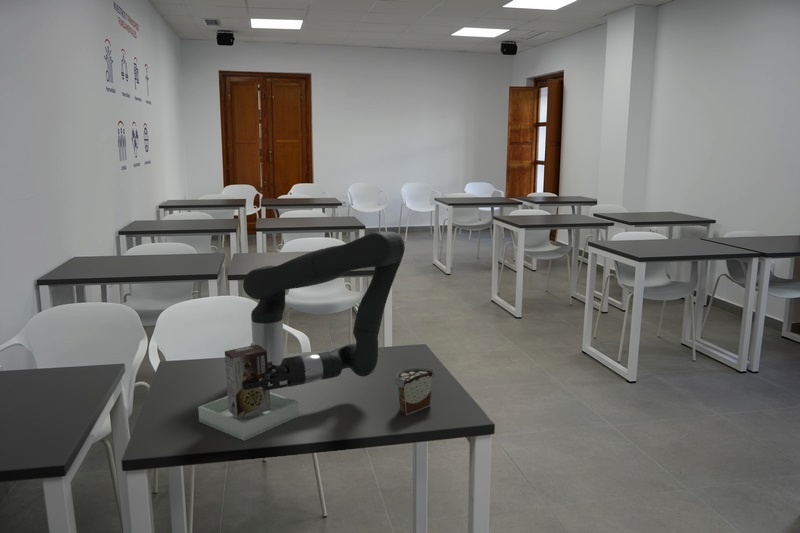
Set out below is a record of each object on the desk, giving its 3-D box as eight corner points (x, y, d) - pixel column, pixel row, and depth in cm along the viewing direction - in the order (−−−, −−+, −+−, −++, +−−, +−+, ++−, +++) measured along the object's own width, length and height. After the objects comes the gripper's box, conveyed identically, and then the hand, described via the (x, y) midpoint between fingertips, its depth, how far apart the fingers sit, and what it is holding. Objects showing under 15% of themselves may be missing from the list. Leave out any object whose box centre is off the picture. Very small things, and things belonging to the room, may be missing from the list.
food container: (418, 397, 177) (418, 363, 175) (434, 404, 173) (434, 368, 171) (385, 410, 169) (385, 374, 167) (401, 417, 164) (402, 380, 163)
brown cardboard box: (261, 402, 168) (258, 343, 165) (271, 410, 163) (268, 350, 160) (227, 411, 163) (223, 350, 160) (236, 419, 158) (232, 357, 155)
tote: (199, 421, 162) (198, 406, 161) (253, 400, 175) (253, 386, 175) (244, 440, 151) (243, 424, 151) (299, 416, 165) (298, 401, 164)
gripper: (292, 348, 173) (231, 358, 166) (311, 364, 161) (245, 375, 153) (294, 374, 175) (233, 385, 167) (312, 392, 162) (247, 404, 155)
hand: (239, 380), depth 160 cm, fingers closed on brown cardboard box, 7 cm apart
